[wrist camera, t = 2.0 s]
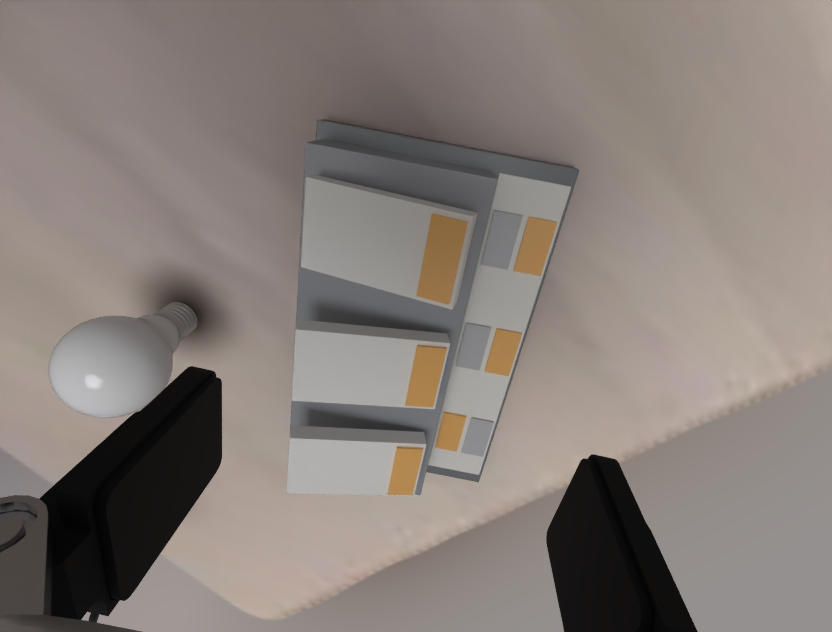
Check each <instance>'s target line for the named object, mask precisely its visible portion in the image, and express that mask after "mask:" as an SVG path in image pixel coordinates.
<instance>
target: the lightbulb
mask: <svg viewBox="0 0 832 632" xmlns="http://www.w3.org/2000/svg"><path fill="white" fill-rule="evenodd" d="M196 326H197V317H196V314H195V313H194V311H193V310H192V309H191V308H190V307H189V306H187V305H186V304H183V303H180V302H172V303H170V304H168V305H167V306H165V307H164V308H162V309H160V310H159V311H157V312H156V313H154V314H153V315H145V316H141V317H139V318H133V317H127V316H104V317H98V318H94V319H91V320H88V321H86V322H83V323H81V324H79V325H77V326H76V327H74V328H73V329H71V330H70V331H69V332H67V333H66V334H65V335H64V336H63V337H62V338H61V339H60V340H59V342H58V343H57V344H56V346H55V348H54V349H53V352H52V354H51V356H50V360H49V365H48V375H49V381H50V384H51V387H52V389H53V391H54V392H55V394H56V395H57V397H58V398H59V399H60V400H61V401H62V402H63V403H64V404H65V405H67V406H68V407H69V408H71V409H73V410H75V411H77V412H79V413H81V414H84V415H88V416H92V417H98V418H114V417H121V416H125V415H129V414H132V413H134V412H137V411H139V410H141V409H143V408H144V407H145V406H146V405H147V404H149V403H150V402H151V401H152V400H153V399H154V398H155V397H156V396H157V395H158V394H160V393H161V392H162V391H163V390H164V389H165V387H166V385H167V384H168V382H169V379H170V376H171V373H172V367H173V353H174V352H175V350H176V349H177V347H178V345H179V342H180V341H181V340H182V339H183V338H185V337H186V336H187V335H189V334H190V333H191V332H192V331H193V330H194V329H195V328H196Z"/></svg>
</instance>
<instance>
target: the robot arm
mask: <svg viewBox="0 0 832 632" xmlns="http://www.w3.org/2000/svg"><path fill="white" fill-rule="evenodd" d="M221 459H222V382H221V379H220V378H216V374H215V372H214V371H211V370H206V369H202V368H197V367H193V366H191V367H188V368H187V369H186V370H185V371H184V372H182V373H181V374H180V375H179V376H178V377H177V378H176V379H175V380H174V381H173V382H172V383H170V384H169V385H168V386H167V387H166V388H165V389H164V390H163V391H162V392H161V393H160V394H158V395H157V396H156V397H155V398H154V399H153V400H152V401H151V402H150V403H149V404H147V405H146V406H145V407H144V408H143V409H142V410H141V411H139V412H136V413H134V414H133V415H132V416H130V417H129V418H128V419H127V420H126V421H125V422H124V423H123V424H121V425H120V426H119V427H118V428H117V429H116V430H115V431H114V432H113V433H111V434H110V435H109V436H108V437H107V438H106V439H105V440H104V441H103V442H101V443H100V444H99V445H98V446H97V447H96V448H95V449H94V450H93V451H92V452H90V453H89V454H88V455H87V456H86V457H85V458H84V459H83V460H82V461H80V462H79V463H78V464H77V465H76V466H75V467H74V468H73V469H72V470H70V471H69V472H68V473H67V474H66V475H65V476H64V477H63V478H62V479H61V480H59V481H58V482H57V483H56V484H55V485H54V486H53V487H52V488H51V489H49V490H48V491H47V492H46V493H45V494H44V495H43V496H42V497H41V498H40V499H38V498H35V497H31V496H23V495H21V496H20V495H14V496H8V497H3V498H0V632H141V631H136V630H131V629H126V628H121V627H115V626H110V625H105V624H100V623H95V622H90V621H83V620H81V619H82V618H83V616H84V615H85V614H86V612H92V613H96V614H101V615H105V616H109V614H110V613H111V612H112V610H113V609H114V607H115V606H116V604H117V603H118V602H119V600H123V601H125V600H127V599H128V598H129V597H130V596H131V594H132V593H133V592H134V591H135V589H136V588H137V586H138V585H139V583H140V582H141V580H142V579H143V578H144V576H145V575H146V573H147V572H148V570H149V569H150V567H151V566H152V564H153V563H154V561H155V560H156V559H157V557H158V556H159V554H160V553H161V551H162V550H163V549H164V547H165V546H166V544H167V543H168V541H169V540H170V538H171V537H172V536H173V534H174V533H175V531H176V530H177V528H178V527H179V525H180V524H181V522H182V521H183V520H184V518H185V517H186V515H187V514H188V512H189V511H190V509H191V508H192V507H193V505H194V504H195V502H196V501H197V499H198V498H199V496H200V495H201V494H202V492H203V491H204V489H205V488H206V486H207V485H208V483H209V482H210V480H211V479H212V478H213V476H214V475H215V473H216V472H217V470H218V468H219V466H220V463H221ZM547 547H548V552H549V558H550V563H551V567H552V573H553V578H554V582H555V588H556V593H557V598H558V603H559V608H560V612H561V617H562V622H563V627H564V632H697V630H696V628H695V625H694V623H693V621H692V619H691V617H690V615H689V612H688V610H687V608H686V606H685V604H684V601H683V599H682V597H681V595H680V593H679V591H678V588H677V586H676V584H675V582H674V580H673V578H672V575H671V573H670V571H669V569H668V567H667V565H666V562H665V560H664V558H663V556H662V554H661V551H660V549H659V547H658V545H657V543H656V541H655V538H654V536H653V534H652V532H651V530H650V528H649V527H648V525H647V524H646V522H645V520H644V518H643V515H642V514H641V511H640V509H639V507H638V504H637V502H636V500H635V498H634V496H633V494H632V492H631V489H630V487H629V485H628V483H627V480H626V478H625V476H624V474H623V472H622V469H621V467H620V465H619V463H618V462H617V460H615V459H611V458H607V457H602V456H598V455H591V456H589V458H588V459H582V460H581V462H580V464H579V466H578V468H577V470H576V472H575V474H574V476H573V478H572V480H571V482H570V484H569V486H568V488H567V490H566V493H565V495H564V497H563V499H562V501H561V503H560V505H559V507H558V509H557V511H556V513H555V515H554V517H553V520H552V522H551V524H550V526H549V528H548V531H547Z"/></svg>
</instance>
